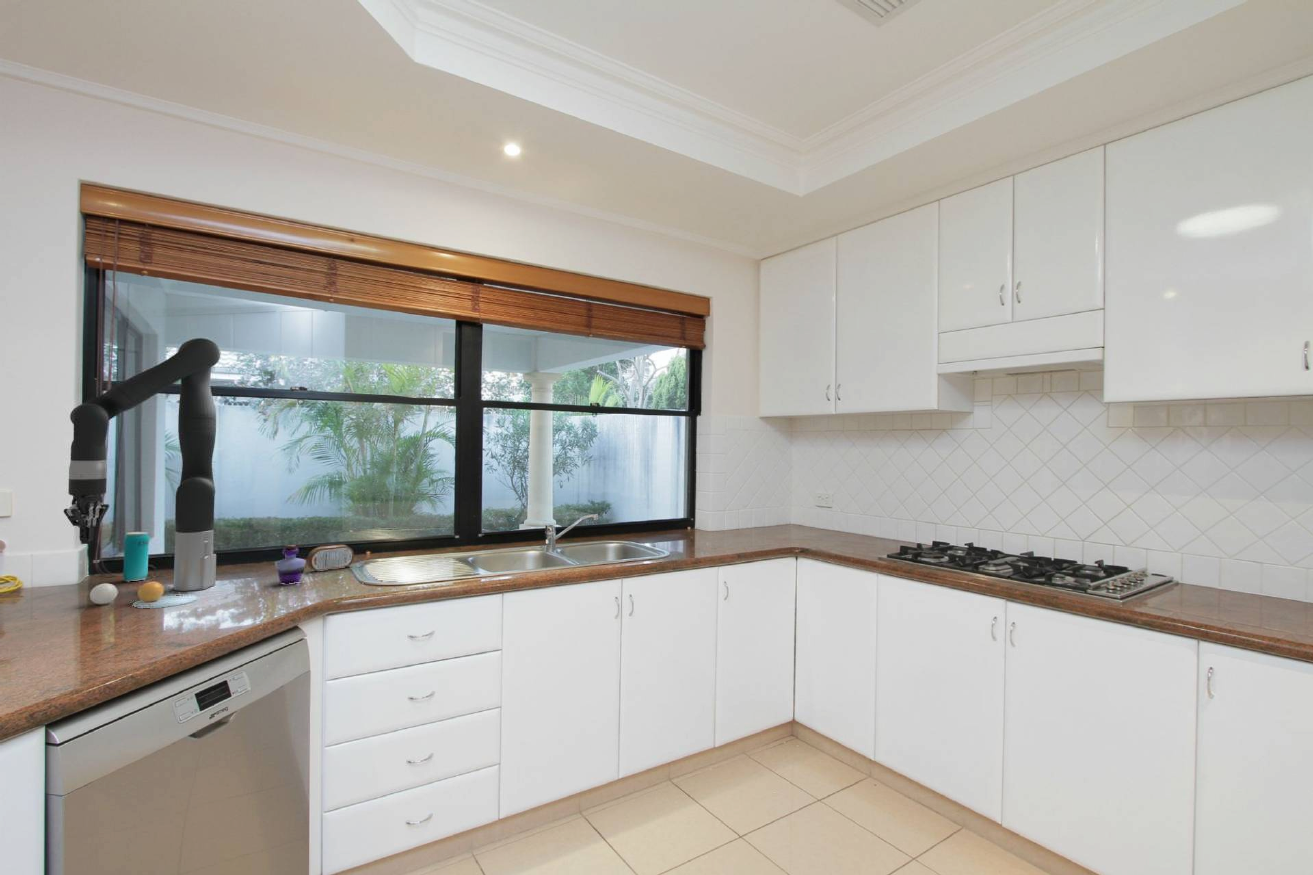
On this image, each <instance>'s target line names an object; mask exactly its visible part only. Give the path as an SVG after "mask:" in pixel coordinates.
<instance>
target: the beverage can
mask: <svg viewBox="0 0 1313 875" xmlns="http://www.w3.org/2000/svg"><path fill="white" fill-rule="evenodd" d="M149 539H150V537H149V535H148V532H147V531H133V532H130V531H129V532H126V533H125V537H124V545H123V546H124V547H123V548H124V550H123V578H124V581H125V582H126V581H127V582H126V583H131V582H130V581H137V580H144V581H145V580H146V578H147V577H148V572H149V568H148V567H149V546H150V545H149V544H150V542H149V541H150V540H149Z"/></svg>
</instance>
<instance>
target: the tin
mask: <svg viewBox="0 0 1313 875" xmlns="http://www.w3.org/2000/svg"><path fill="white" fill-rule="evenodd" d="M354 558H355V552H354V550H353V548H351V547H349V546H348V545H346V544H335V545H333V544H332V545H323V546H318V547H317V546H316V548H313V549H312V550H311V551H310V552H309V553H308V555H307V557H306V565H307V566H308V568H309V569H310V570H312V569H313V571H315V570H318V569H328V568H331V567H341V566H344V565H349V566H351V564H352V562H353V561H354Z"/></svg>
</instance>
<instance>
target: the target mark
mask: <svg viewBox="0 0 1313 875" xmlns="http://www.w3.org/2000/svg"><path fill="white" fill-rule="evenodd" d="M167 595H168V594H166V596H165V595H162V596H161V597H160V598H159V599H158V600H156V601H153V602H145V601H142V600H141V599H139V600H137V601H135V602H133V603H132V604H133V605H132V604H131V606H132V607H133V606H134V607H133V608H135V607H136V606H140V607H137V608H136V609H143V608H150V609H160V608H161V609H162V607H164V608H169V607H168V606H172V607H177V605H178V606H181V605H180V604H182V605H186V603H187V604H190V603H192V602H195V601H196V600H198V596H197V595H193V594H182V593H181V594H179V595H180V596H176V595H177V594H174V595H175V596H167ZM181 595H183V596H181ZM184 595H185V596H184ZM187 595H188V596H187ZM189 595H190V596H189ZM191 595H192V596H191ZM194 600H195V601H194ZM189 602H190V603H189ZM136 604H138V605H136ZM148 604H151V605H148ZM143 606H144V607H143ZM145 606H146V607H145ZM149 606H151V607H149ZM152 606H153V607H152Z"/></svg>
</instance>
